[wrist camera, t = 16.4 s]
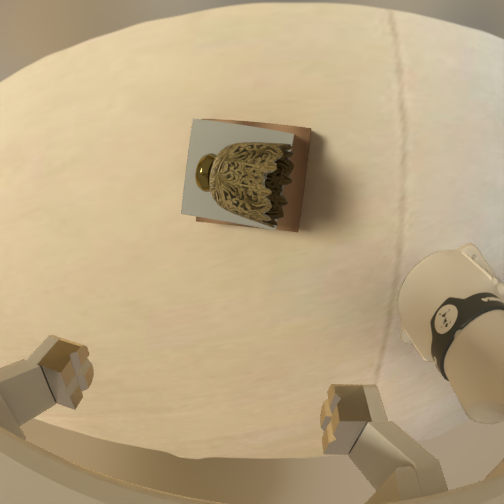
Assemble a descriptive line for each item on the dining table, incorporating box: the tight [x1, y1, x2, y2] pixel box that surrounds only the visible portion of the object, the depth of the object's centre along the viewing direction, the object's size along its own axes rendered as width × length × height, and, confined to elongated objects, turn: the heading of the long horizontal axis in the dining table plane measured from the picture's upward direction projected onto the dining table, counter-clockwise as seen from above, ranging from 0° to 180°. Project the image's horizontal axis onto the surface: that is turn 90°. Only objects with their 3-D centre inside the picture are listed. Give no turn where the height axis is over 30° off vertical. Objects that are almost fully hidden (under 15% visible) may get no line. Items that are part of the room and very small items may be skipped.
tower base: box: [196, 119, 311, 232], centre depth 37 cm, size 12×12×4 cm
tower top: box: [181, 119, 294, 230], centre depth 33 cm, size 10×10×4 cm
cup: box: [195, 142, 294, 228], centre depth 28 cm, size 8×7×8 cm
